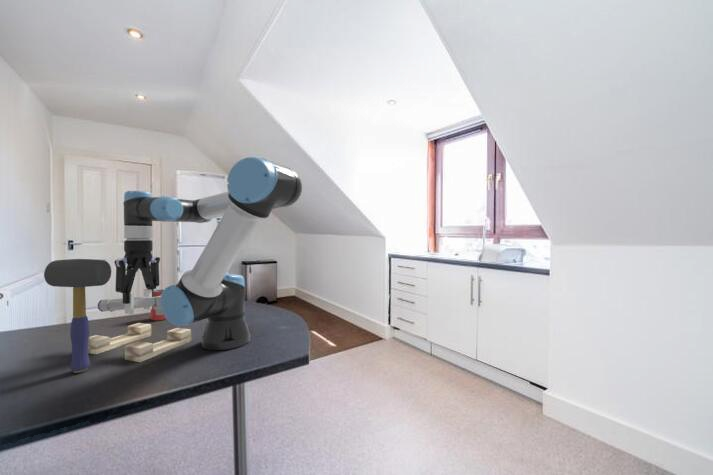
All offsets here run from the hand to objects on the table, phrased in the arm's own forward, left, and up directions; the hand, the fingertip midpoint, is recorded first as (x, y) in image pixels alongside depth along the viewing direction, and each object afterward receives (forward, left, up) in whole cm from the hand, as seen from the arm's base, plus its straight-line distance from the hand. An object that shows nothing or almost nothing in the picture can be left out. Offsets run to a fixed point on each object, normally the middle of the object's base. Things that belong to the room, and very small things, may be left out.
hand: (138, 310), depth 101 cm
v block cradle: (0, 0, -12) cm, 12 cm away
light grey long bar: (0, 0, -1) cm, 1 cm away
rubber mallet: (-3, +18, -12) cm, 22 cm away
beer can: (+22, -26, -12) cm, 36 cm away
